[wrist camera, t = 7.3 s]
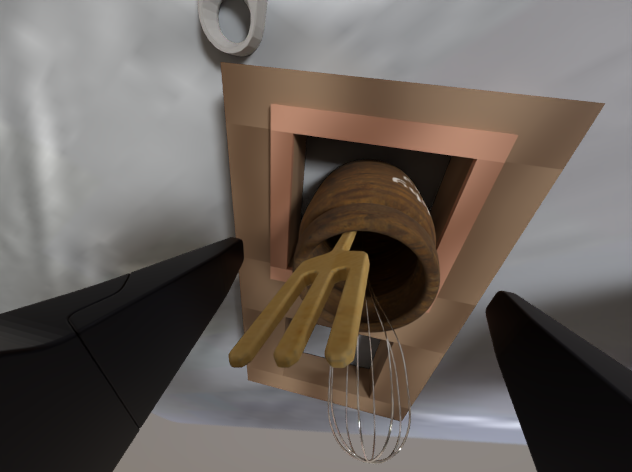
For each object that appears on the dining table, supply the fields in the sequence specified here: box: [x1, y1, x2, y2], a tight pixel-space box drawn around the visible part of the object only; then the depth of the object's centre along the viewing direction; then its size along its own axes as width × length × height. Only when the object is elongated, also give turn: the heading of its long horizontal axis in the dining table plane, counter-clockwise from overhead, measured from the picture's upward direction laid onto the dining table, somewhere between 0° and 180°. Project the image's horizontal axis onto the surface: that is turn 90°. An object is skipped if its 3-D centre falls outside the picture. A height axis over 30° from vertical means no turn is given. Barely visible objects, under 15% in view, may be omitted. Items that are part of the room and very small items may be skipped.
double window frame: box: [221, 62, 605, 421], centre depth 16 cm, size 14×24×3 cm, turn 174°
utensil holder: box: [229, 159, 440, 464], centre depth 9 cm, size 6×6×12 cm
